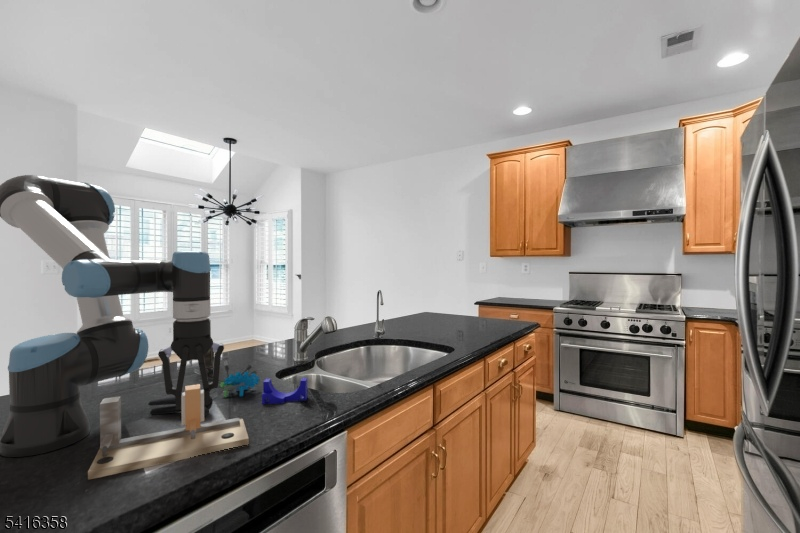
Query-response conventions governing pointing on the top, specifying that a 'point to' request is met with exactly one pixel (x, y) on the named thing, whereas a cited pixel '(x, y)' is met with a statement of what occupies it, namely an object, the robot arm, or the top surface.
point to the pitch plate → (157, 442)
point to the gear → (239, 382)
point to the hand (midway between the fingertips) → (193, 420)
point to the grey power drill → (209, 359)
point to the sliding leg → (192, 408)
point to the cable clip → (274, 396)
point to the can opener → (171, 408)
